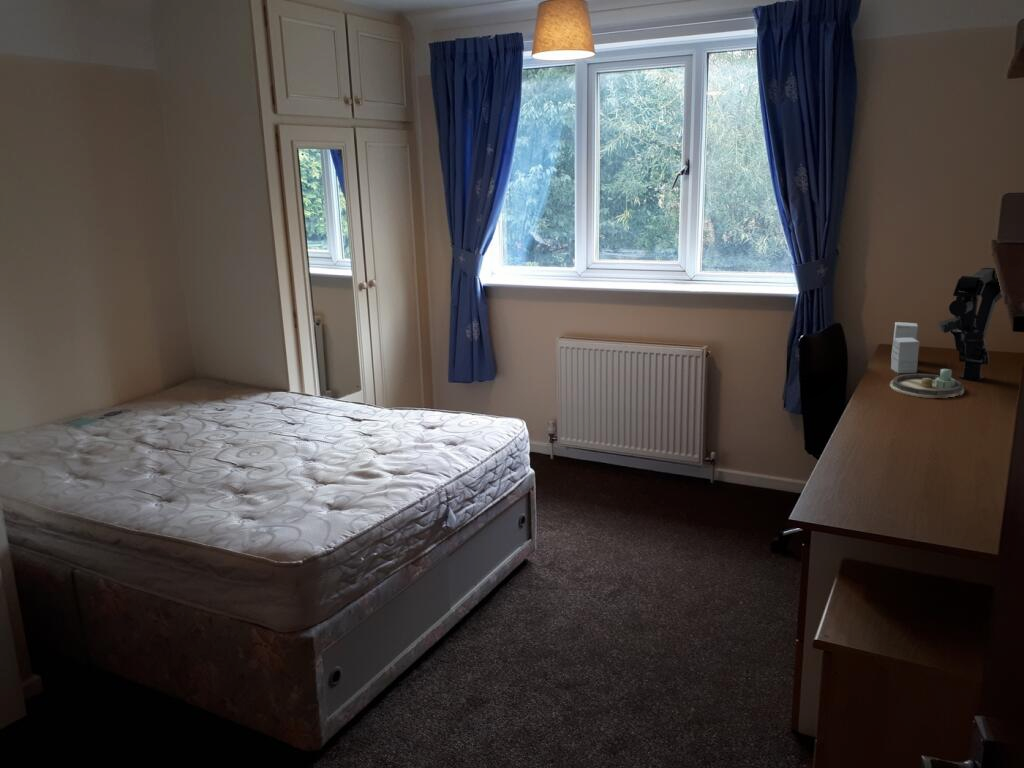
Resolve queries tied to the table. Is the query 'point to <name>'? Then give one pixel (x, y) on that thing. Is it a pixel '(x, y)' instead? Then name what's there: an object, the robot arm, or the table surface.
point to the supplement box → (905, 355)
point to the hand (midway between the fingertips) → (962, 354)
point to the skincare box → (905, 330)
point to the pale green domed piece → (945, 379)
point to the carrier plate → (917, 385)
